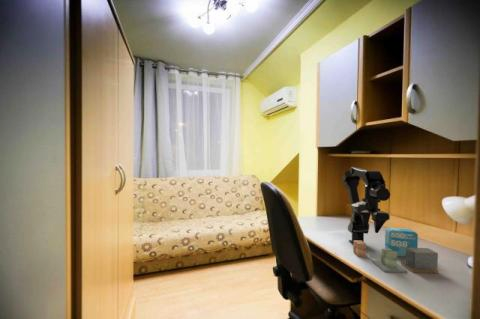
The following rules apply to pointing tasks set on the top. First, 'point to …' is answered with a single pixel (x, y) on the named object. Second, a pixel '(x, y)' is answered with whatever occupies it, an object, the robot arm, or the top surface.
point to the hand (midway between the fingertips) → (370, 229)
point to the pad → (389, 269)
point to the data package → (400, 240)
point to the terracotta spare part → (359, 248)
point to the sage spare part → (388, 258)
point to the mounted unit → (421, 260)
